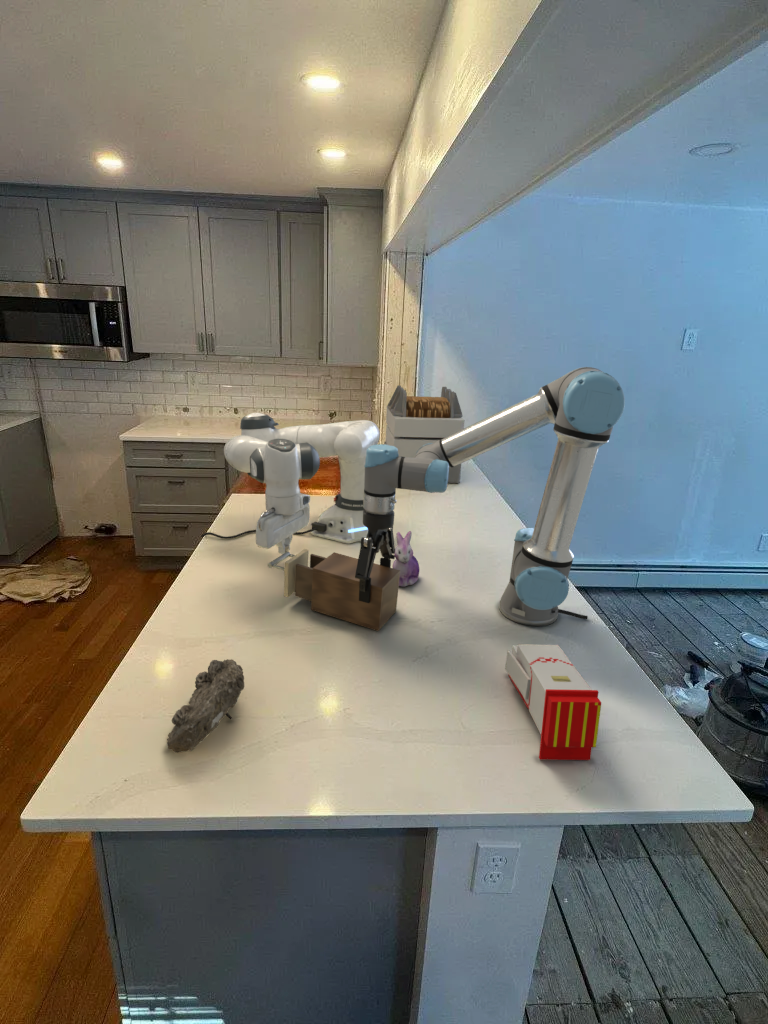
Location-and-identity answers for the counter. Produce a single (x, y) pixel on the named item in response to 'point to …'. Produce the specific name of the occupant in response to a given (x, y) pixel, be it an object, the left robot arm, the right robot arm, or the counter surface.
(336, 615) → the cabinet
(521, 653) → the toy
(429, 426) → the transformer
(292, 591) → the drawer
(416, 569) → the figurine
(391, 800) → the counter surface
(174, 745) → the fossil
